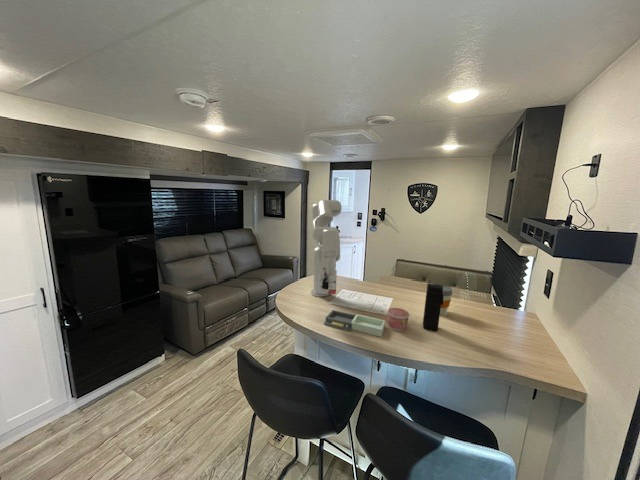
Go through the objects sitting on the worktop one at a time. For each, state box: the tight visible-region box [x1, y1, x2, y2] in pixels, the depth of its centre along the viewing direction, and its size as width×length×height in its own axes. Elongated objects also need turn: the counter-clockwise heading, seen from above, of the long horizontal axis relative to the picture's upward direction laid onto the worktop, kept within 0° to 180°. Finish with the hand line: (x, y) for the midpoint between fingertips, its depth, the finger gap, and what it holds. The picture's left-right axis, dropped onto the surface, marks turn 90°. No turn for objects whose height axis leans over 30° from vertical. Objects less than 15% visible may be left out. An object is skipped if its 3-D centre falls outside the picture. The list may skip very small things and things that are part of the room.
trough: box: [351, 314, 386, 337], centre depth 127 cm, size 10×15×4 cm, turn 66°
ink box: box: [319, 269, 338, 295], centre depth 132 cm, size 9×5×12 cm, turn 82°
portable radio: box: [422, 280, 443, 332], centre depth 127 cm, size 8×6×25 cm
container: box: [386, 307, 410, 332], centre depth 128 cm, size 10×10×8 cm
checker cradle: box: [323, 309, 356, 332], centre depth 132 cm, size 14×14×3 cm
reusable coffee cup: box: [433, 283, 453, 316], centre depth 147 cm, size 12×13×15 cm
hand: (327, 286), depth 132 cm, fingers closed on ink box, 6 cm apart
